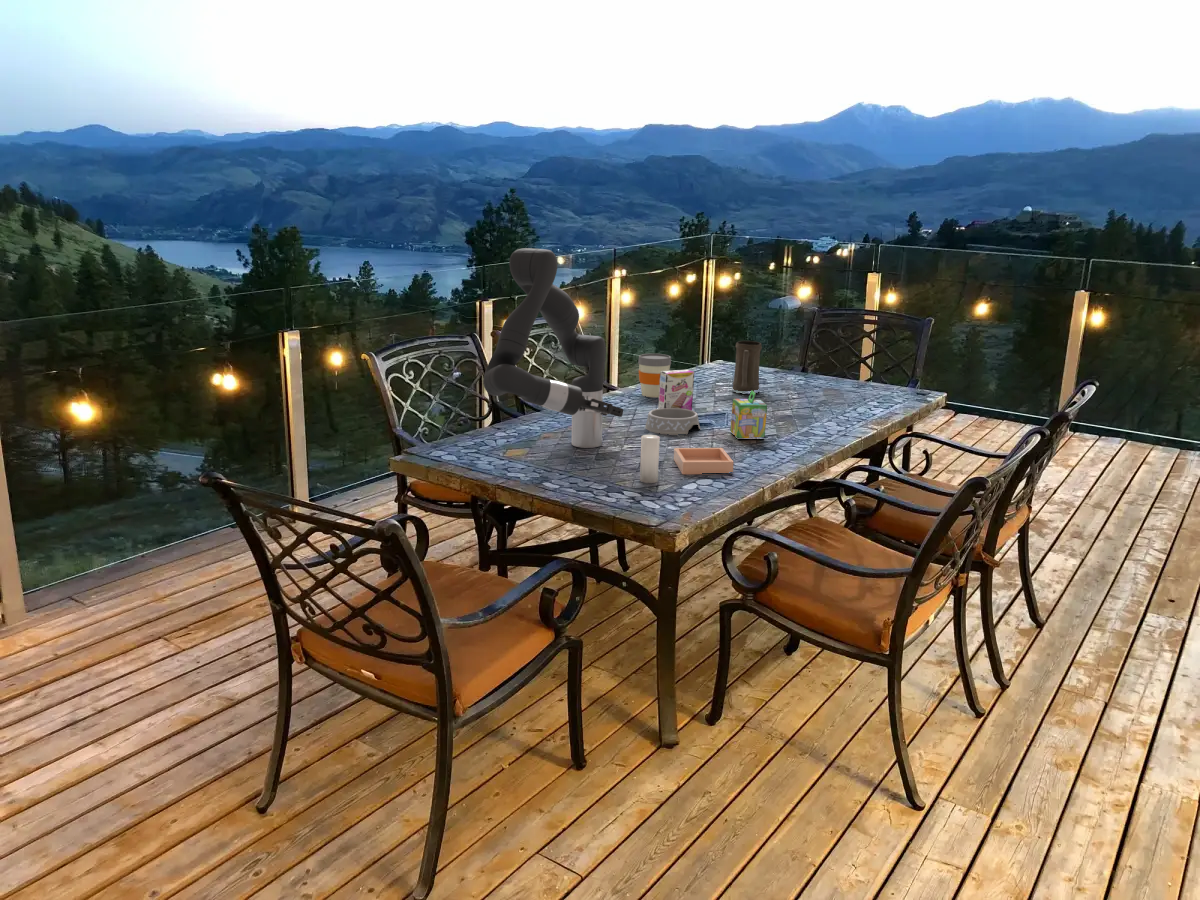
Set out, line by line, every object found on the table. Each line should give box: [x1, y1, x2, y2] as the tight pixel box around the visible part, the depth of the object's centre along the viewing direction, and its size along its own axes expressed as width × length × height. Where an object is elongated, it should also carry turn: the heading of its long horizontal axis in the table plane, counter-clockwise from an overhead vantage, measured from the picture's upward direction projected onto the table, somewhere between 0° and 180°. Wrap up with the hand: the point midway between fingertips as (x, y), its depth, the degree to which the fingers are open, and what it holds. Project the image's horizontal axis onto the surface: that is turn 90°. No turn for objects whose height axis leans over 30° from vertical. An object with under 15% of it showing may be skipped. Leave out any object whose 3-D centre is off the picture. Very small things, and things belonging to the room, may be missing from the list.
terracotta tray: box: [673, 447, 734, 475], centre depth 248 cm, size 14×14×4 cm
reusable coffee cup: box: [637, 353, 672, 398], centre depth 336 cm, size 13×13×15 cm
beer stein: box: [732, 340, 763, 391], centre depth 342 cm, size 15×11×20 cm
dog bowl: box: [644, 408, 701, 436], centre depth 290 cm, size 17×18×5 cm
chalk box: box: [729, 390, 768, 438], centre depth 279 cm, size 9×9×15 cm
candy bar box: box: [657, 369, 695, 411], centre depth 301 cm, size 11×5×16 cm, turn 115°
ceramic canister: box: [639, 434, 661, 484], centre depth 234 cm, size 5×5×12 cm
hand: (614, 412), depth 231 cm, fingers open, 8 cm apart
